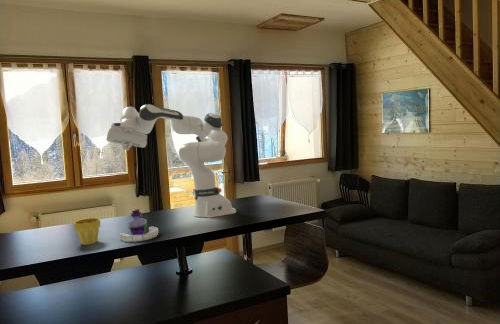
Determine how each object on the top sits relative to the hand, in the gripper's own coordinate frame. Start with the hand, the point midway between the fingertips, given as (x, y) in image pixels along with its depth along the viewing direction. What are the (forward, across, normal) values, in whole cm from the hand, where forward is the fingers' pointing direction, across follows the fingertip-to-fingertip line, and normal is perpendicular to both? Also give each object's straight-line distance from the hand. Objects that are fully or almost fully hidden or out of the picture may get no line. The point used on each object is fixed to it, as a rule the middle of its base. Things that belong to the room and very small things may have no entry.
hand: (126, 149), depth 206 cm
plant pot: (+51, +11, -8) cm, 53 cm away
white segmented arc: (+51, -10, 0) cm, 52 cm away
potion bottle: (+49, -9, -3) cm, 50 cm away
